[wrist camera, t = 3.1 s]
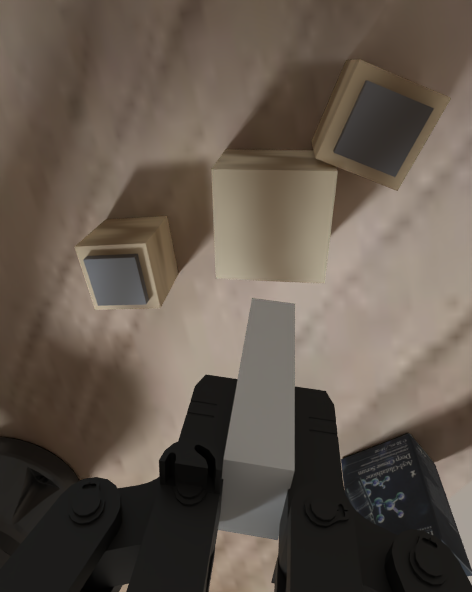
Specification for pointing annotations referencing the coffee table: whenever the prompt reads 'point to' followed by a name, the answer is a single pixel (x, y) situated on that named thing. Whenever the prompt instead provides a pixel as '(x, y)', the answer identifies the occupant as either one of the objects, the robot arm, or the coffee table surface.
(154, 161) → the coffee table surface
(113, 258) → the marked oak block 2
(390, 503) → the box
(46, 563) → the robot arm
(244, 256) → the plain oak block
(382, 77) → the marked oak block 1
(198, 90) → the coffee table surface
